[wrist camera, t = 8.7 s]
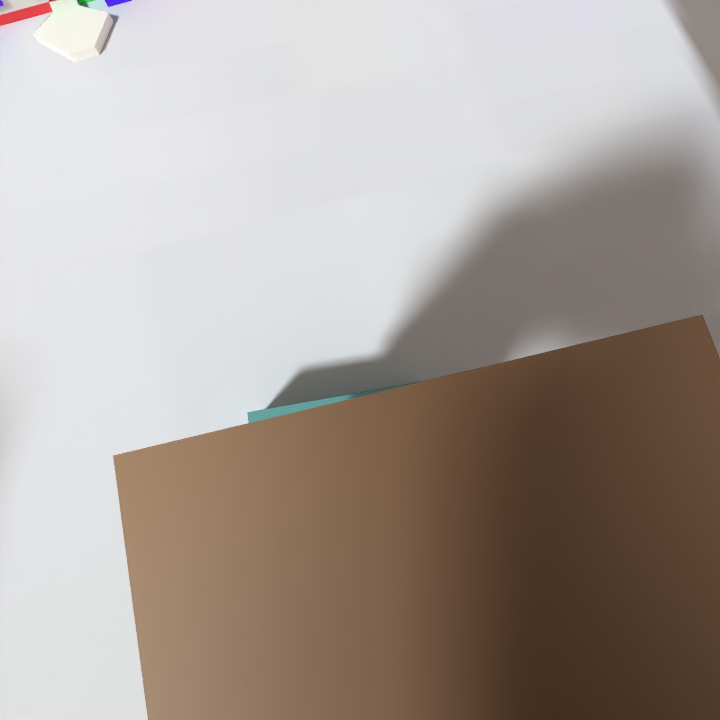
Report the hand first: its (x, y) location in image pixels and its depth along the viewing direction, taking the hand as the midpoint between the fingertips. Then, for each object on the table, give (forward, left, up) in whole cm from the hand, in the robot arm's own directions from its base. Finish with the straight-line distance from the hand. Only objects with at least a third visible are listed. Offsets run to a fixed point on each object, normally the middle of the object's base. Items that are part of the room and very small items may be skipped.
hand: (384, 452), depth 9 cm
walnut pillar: (-1, +1, -7) cm, 7 cm away
